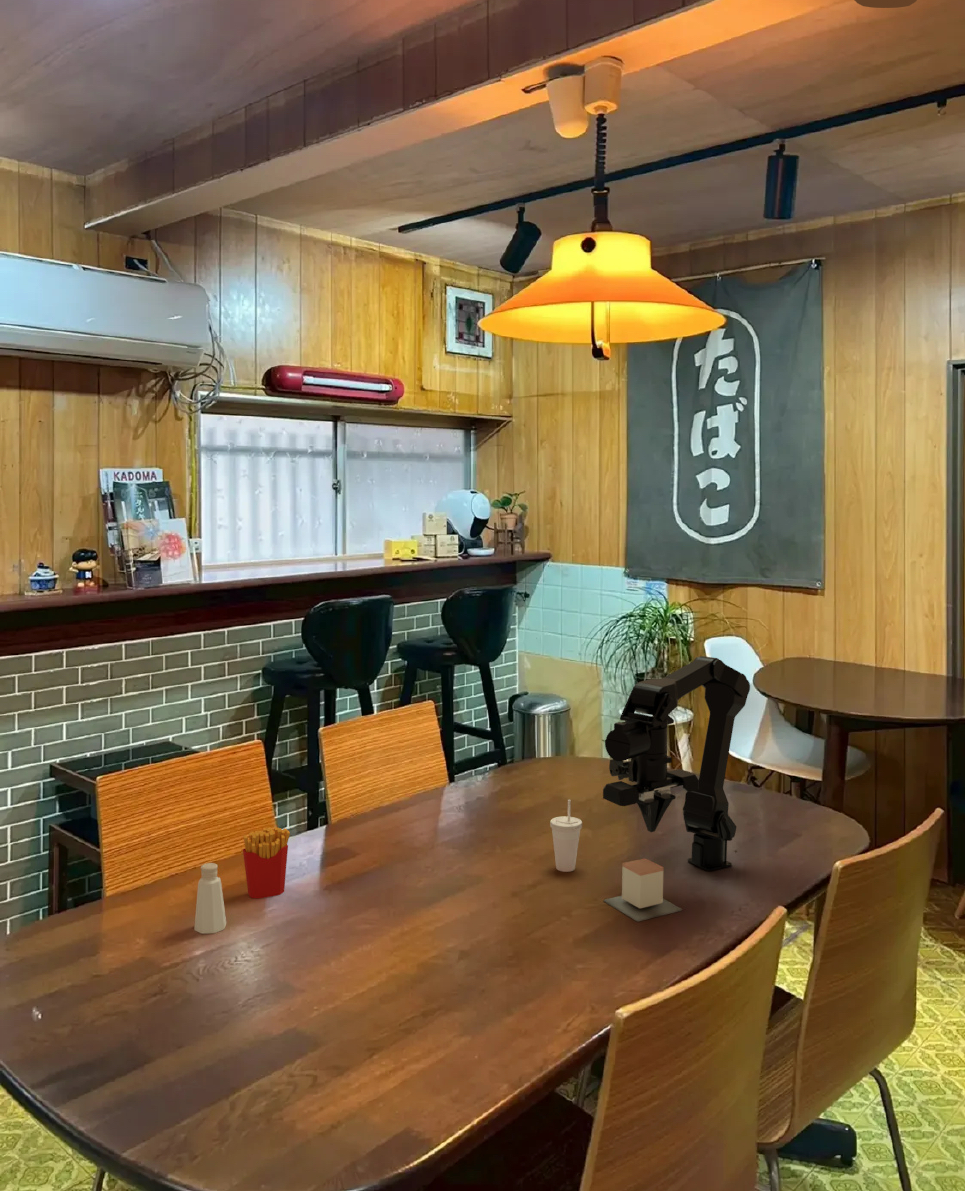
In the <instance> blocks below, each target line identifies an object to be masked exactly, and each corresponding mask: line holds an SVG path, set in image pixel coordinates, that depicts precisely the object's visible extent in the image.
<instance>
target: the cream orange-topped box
mask: <svg viewBox="0 0 965 1191" xmlns="http://www.w3.org/2000/svg"><path fill="white" fill-rule="evenodd" d="M621 874H622V875H621V876H622V878H621V896H622V899H624V900H626V901H628V902H629V903H631V904H633V905H635V906H636V907H638V908H644V907H648V906H652V905H656V904H660V903H663V899H664V898H663V897H664V866H662V865H659V864H658V863H656V862H653V861H651V860H650V859H647V858H639V859H636V860H631V861H630V860H629V861H626V862H622V873H621Z"/></svg>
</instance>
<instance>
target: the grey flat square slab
mask: <svg viewBox="0 0 965 1191" xmlns="http://www.w3.org/2000/svg"><path fill="white" fill-rule="evenodd" d="M603 902H604V903H606V904H607V905H608V906H610V907H612V908H614V909H615V910H617V911H619V912H621V913H622V914H624V915H626V916H627V917H629V918H630V919H632V920H634V921H635V922H637V923H638V922H642V921H645V920H650V919H653V918H657V917H662V916H666V915H669V914H674V913H677V912H681V911H683V909H682V907H679V906H678V905H675V904H674V903H672V902H670V901H668V900H666V899H665V898H663V903H660V904H656V905H652V906H648V907H644V908H638V907H636V906H635V905H633V904H631V903H629V902H628V901H626V900H624V899H622V895H618V896H614V897H610V898H606V899H603Z"/></svg>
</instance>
